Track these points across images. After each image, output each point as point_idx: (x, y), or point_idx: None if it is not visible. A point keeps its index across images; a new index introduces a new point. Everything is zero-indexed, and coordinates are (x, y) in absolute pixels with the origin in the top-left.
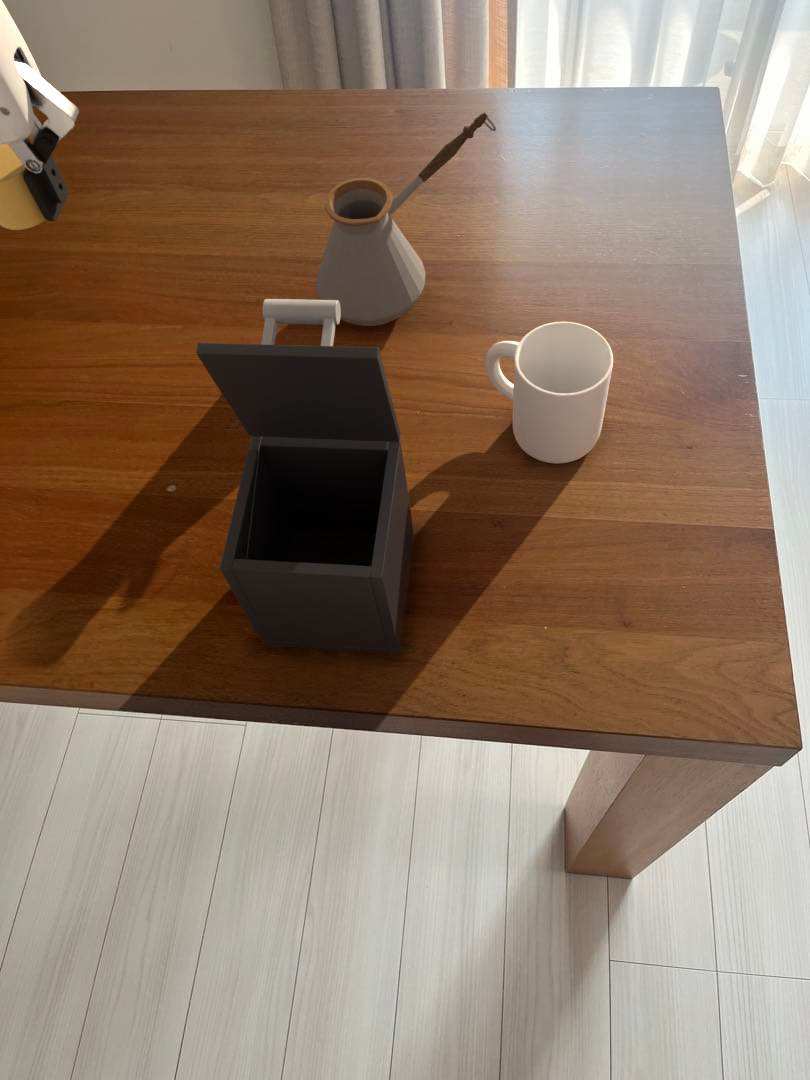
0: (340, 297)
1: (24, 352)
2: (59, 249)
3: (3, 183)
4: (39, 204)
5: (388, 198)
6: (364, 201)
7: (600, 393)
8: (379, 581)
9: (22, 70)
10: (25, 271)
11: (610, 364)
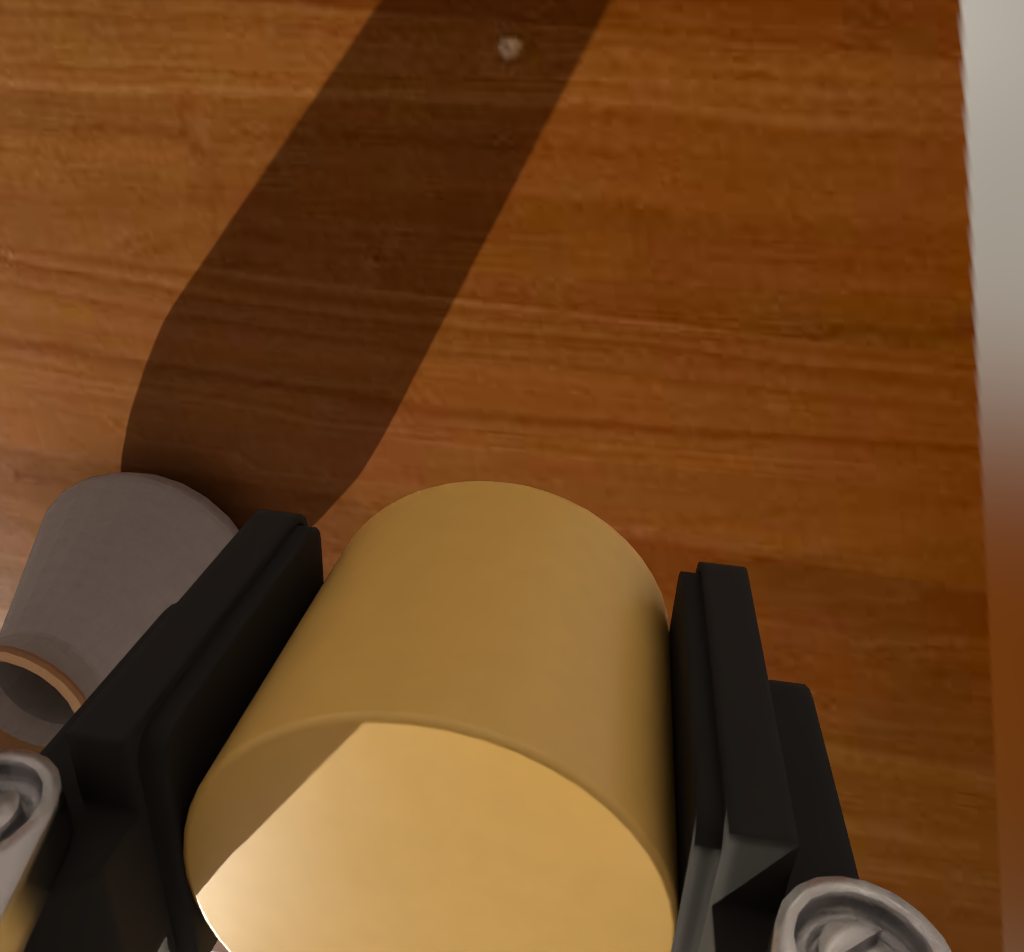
0: (161, 524)
1: (940, 492)
2: (870, 754)
3: (319, 709)
4: (241, 576)
5: None
6: (58, 721)
7: None
8: None
9: None
10: (950, 711)
11: None
